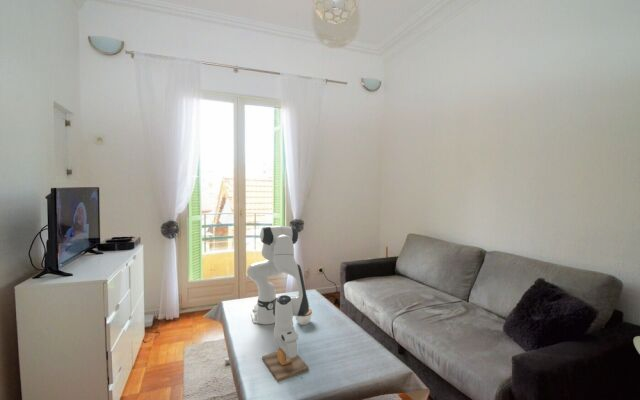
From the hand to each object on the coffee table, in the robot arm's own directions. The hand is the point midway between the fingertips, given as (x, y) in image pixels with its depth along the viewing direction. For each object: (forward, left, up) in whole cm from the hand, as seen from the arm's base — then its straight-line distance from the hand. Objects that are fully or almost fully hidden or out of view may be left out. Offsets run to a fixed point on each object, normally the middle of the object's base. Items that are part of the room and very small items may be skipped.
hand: (284, 357), depth 147 cm
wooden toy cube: (0, 0, -2) cm, 2 cm away
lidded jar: (-33, +28, -4) cm, 43 cm away
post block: (0, 0, -4) cm, 4 cm away
